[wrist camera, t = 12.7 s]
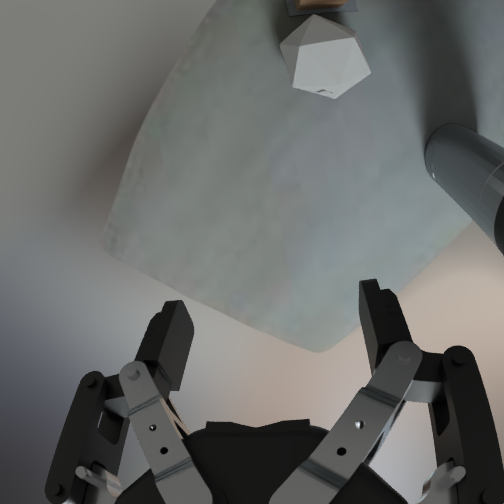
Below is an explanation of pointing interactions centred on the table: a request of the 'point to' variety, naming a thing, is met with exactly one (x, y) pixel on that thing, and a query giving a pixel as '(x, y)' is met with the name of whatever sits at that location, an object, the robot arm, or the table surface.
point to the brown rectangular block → (318, 4)
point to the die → (324, 57)
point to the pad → (347, 7)
